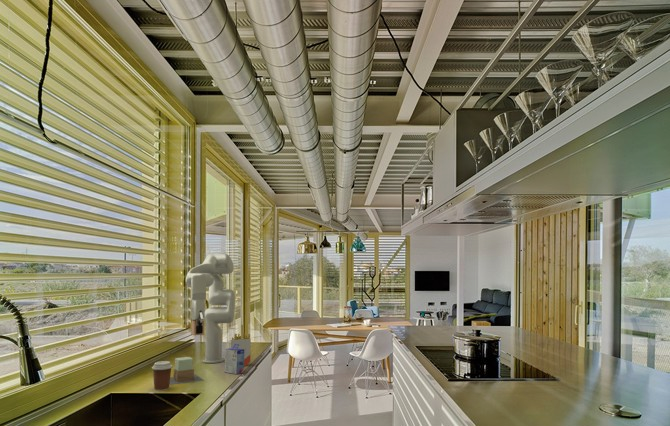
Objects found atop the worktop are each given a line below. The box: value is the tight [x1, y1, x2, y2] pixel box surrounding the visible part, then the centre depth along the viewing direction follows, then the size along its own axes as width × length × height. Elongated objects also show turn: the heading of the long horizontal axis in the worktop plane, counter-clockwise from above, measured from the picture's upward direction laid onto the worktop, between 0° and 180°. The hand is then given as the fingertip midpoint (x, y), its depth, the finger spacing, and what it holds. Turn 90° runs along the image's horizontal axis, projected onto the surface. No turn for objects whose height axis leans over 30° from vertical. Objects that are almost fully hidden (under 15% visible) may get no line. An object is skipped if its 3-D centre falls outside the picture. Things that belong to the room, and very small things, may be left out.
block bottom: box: [173, 367, 195, 382], centre depth 235 cm, size 8×8×5 cm
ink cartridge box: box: [224, 344, 245, 375], centre depth 252 cm, size 10×6×14 cm, turn 53°
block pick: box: [191, 320, 205, 336], centre depth 246 cm, size 5×5×7 cm
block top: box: [174, 356, 194, 371], centre depth 236 cm, size 7×7×5 cm
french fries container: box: [230, 333, 252, 367], centre depth 270 cm, size 5×11×18 cm, turn 103°
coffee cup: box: [151, 360, 174, 391], centre depth 218 cm, size 9×9×12 cm
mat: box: [169, 373, 205, 386], centre depth 235 cm, size 16×16×1 cm
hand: (197, 332), depth 245 cm, fingers closed on block pick, 5 cm apart
